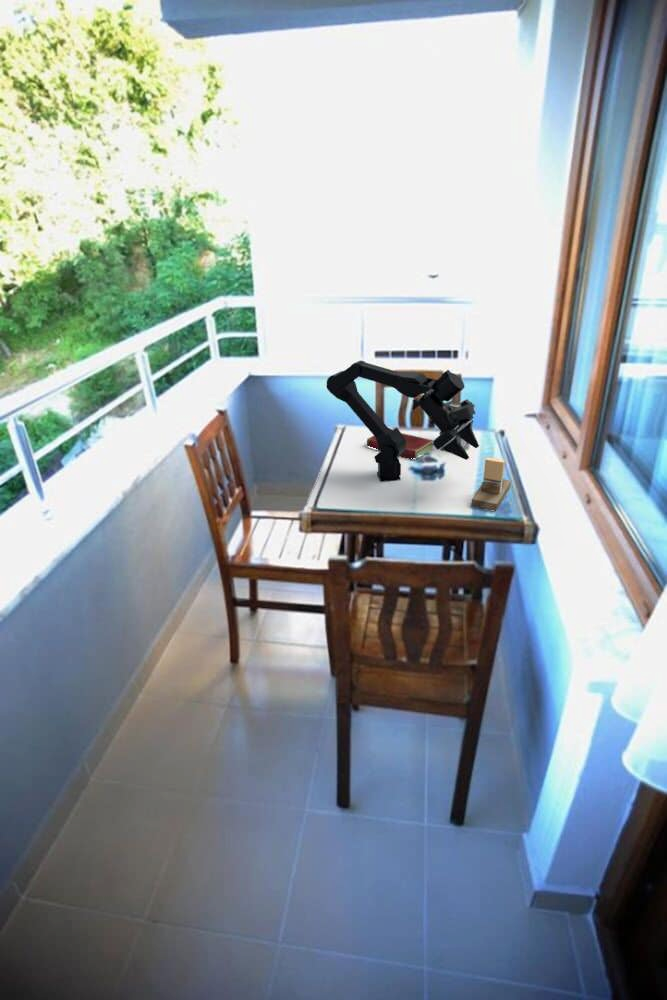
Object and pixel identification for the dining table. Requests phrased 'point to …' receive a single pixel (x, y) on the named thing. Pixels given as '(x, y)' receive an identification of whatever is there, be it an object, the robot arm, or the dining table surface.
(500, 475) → the stub
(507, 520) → the dining table surface
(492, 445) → the dining table surface
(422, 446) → the hardcover book
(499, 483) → the stand
